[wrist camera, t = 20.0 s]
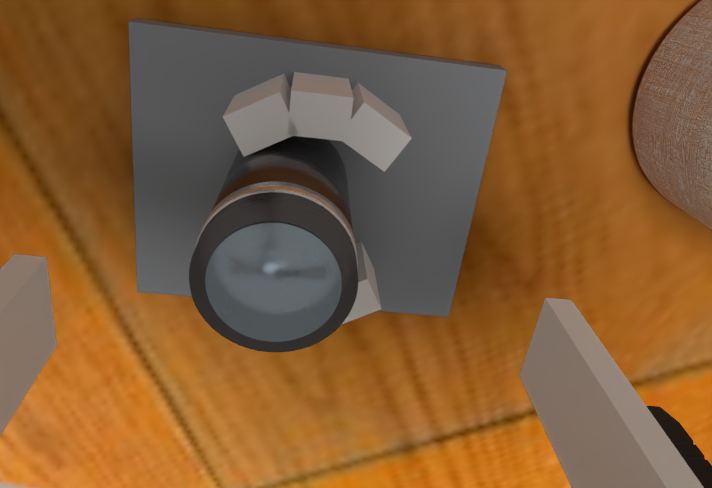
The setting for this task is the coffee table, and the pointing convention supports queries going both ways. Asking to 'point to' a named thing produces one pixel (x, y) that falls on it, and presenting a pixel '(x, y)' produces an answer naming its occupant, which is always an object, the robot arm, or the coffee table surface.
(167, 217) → the mount
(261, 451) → the coffee table surface
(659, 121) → the planter
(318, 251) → the lens
